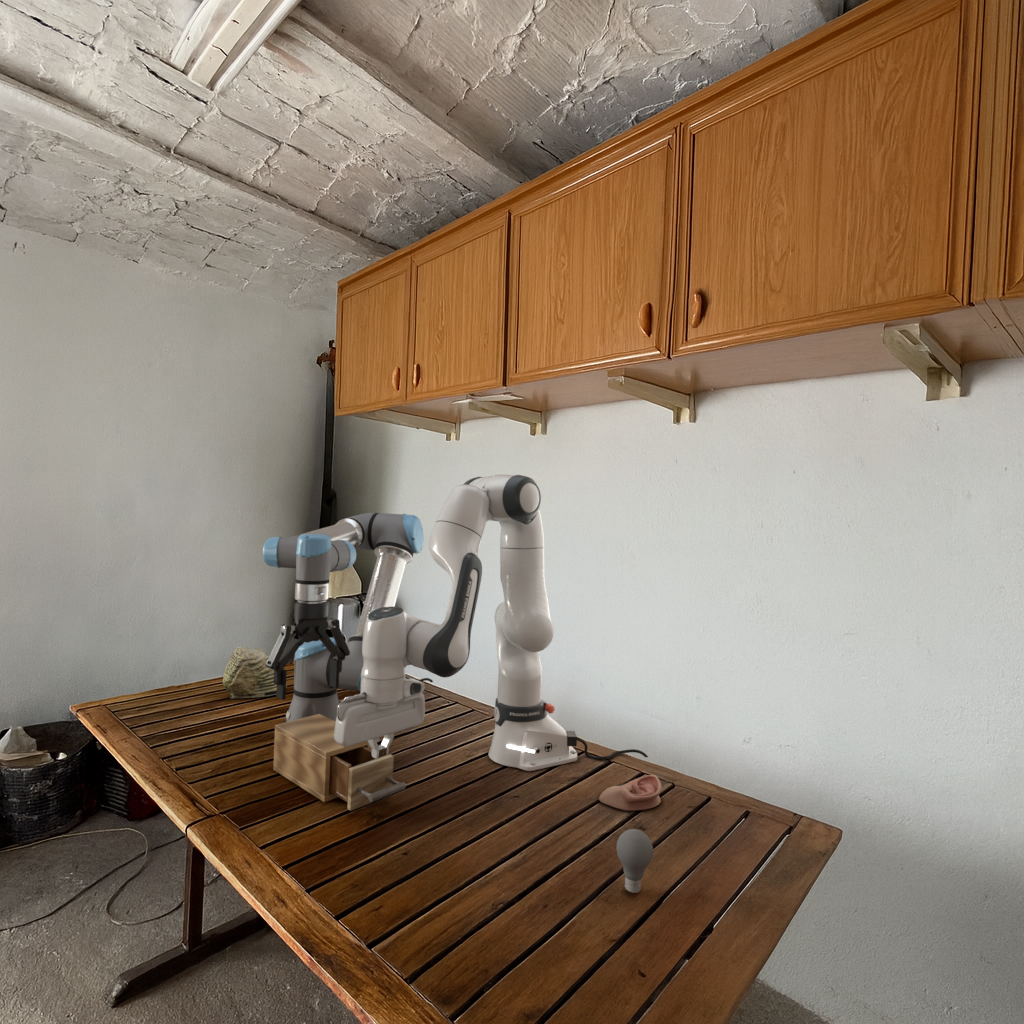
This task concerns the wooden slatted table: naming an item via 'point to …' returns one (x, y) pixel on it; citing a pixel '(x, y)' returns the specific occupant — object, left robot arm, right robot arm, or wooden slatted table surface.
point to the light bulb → (634, 857)
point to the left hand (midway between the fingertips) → (308, 692)
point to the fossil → (249, 674)
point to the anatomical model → (634, 794)
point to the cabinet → (308, 753)
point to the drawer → (362, 777)
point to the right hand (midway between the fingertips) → (379, 756)
